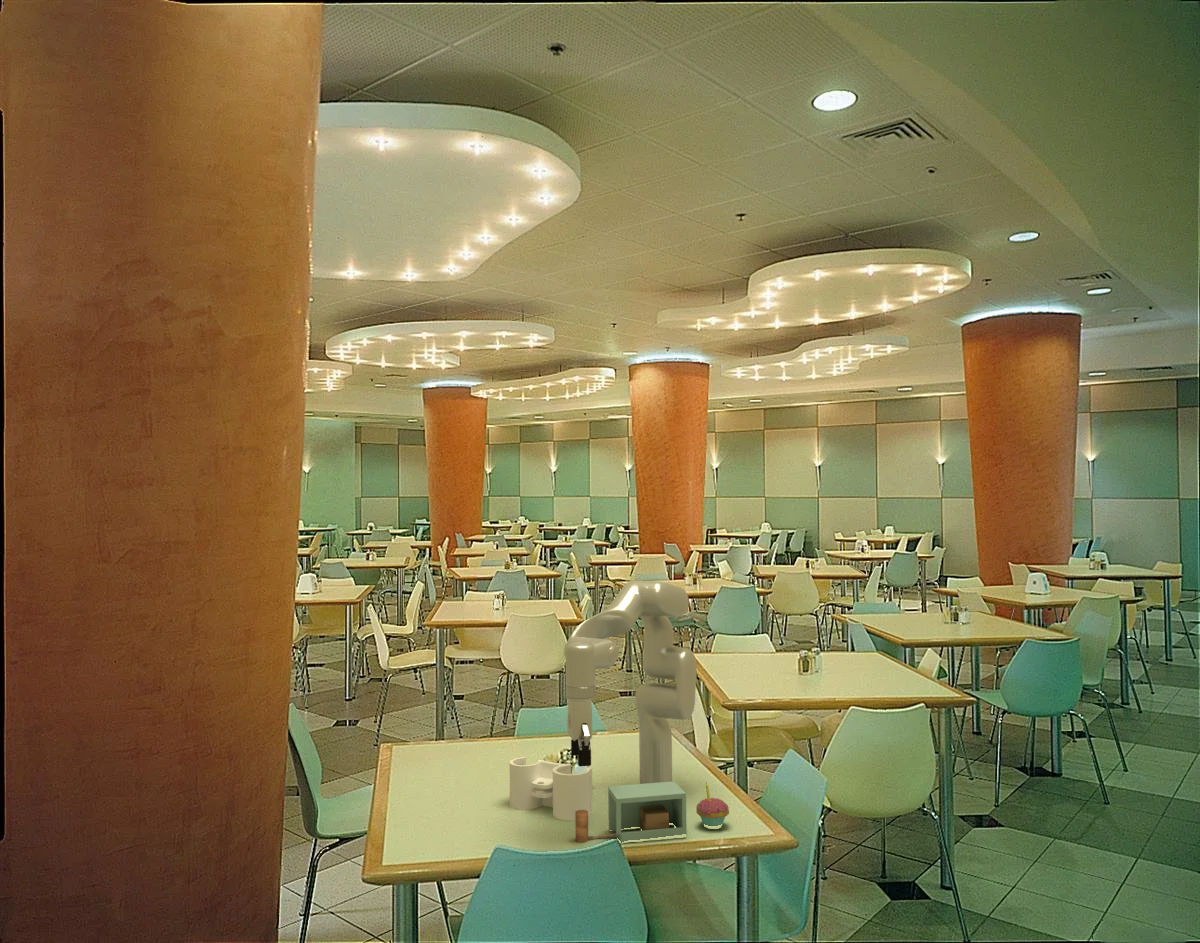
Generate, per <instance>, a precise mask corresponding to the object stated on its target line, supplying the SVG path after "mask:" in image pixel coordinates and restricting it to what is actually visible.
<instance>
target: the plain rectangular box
mask: <svg viewBox="0 0 1200 943" xmlns="http://www.w3.org/2000/svg"><path fill="white" fill-rule="evenodd" d="M607 791H608V792H607V793H608V795H607V796H608V799H607V800H608V801H607V802H608V803H607V805H608V809H607V810H608V814H607V815H608V831H609V830H616V831H615V834H616V837H615V839H616V838H618V839H619V840H620V841H621V843H622V842H624V841H628V840H640V839H650V838H658V837H666V836H674V835H682V834H687V832H688V831H687V793H686V792H685V790H684V789H682V788H681V786H680V785H679V784H678V783H677V782H676V781H675V780H674V781H673V780H672V782H659V783H646V784H640V783H636V784H635V783H634V784H624V785H623V784H621V785H610V786H607ZM656 805H663V806H664V807H665V809H666V810H667V811H668V812H669V823H673V824H674V825H675V826H676V828H674V827H669V828H665V829H653V830H642V831H641V830H633V831H631V830H630V831H622V830H621V829H624V828H631V827H640V807H644V806H656ZM687 835H688V834H687Z"/></svg>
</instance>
